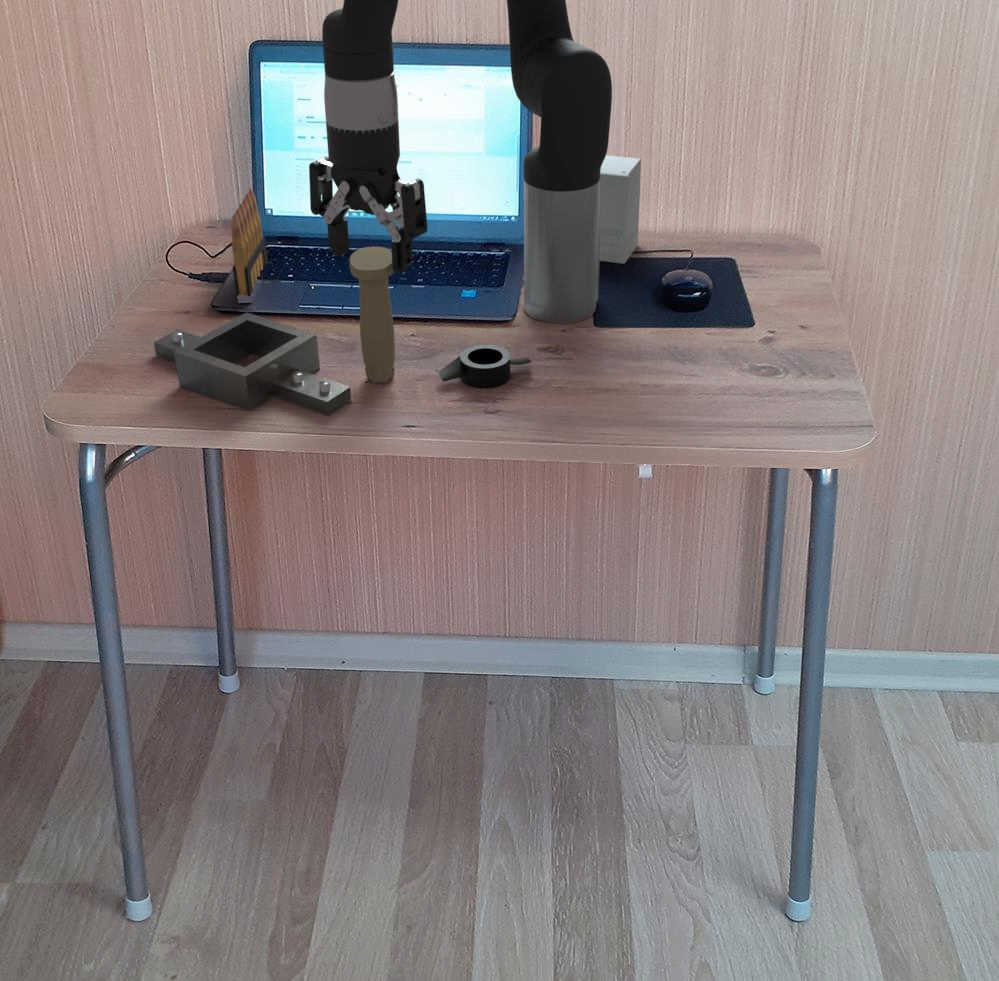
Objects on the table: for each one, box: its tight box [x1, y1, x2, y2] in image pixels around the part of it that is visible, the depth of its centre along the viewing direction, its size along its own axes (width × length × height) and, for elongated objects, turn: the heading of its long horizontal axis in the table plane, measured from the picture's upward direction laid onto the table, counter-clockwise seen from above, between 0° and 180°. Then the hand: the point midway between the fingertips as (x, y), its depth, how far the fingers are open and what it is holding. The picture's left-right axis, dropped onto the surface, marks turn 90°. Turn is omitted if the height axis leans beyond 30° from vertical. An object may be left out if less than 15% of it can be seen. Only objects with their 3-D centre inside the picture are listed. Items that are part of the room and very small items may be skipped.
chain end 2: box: [209, 322, 352, 417], centre depth 148 cm, size 14×12×4 cm
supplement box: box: [598, 154, 642, 265], centre depth 178 cm, size 7×7×13 cm
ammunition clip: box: [231, 188, 269, 297], centre depth 170 cm, size 11×2×12 cm, turn 176°
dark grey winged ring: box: [438, 344, 533, 390], centre depth 151 cm, size 8×10×3 cm
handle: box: [349, 246, 396, 384], centre depth 148 cm, size 5×6×15 cm
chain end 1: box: [153, 312, 281, 400], centre depth 154 cm, size 14×12×4 cm
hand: (370, 262), depth 144 cm, fingers open, 8 cm apart
